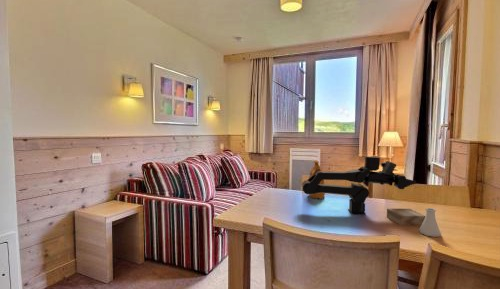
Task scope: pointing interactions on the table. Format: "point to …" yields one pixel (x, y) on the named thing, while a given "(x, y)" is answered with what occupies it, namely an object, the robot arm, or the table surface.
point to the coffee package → (312, 172)
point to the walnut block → (405, 216)
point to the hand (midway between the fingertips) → (410, 180)
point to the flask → (430, 224)
